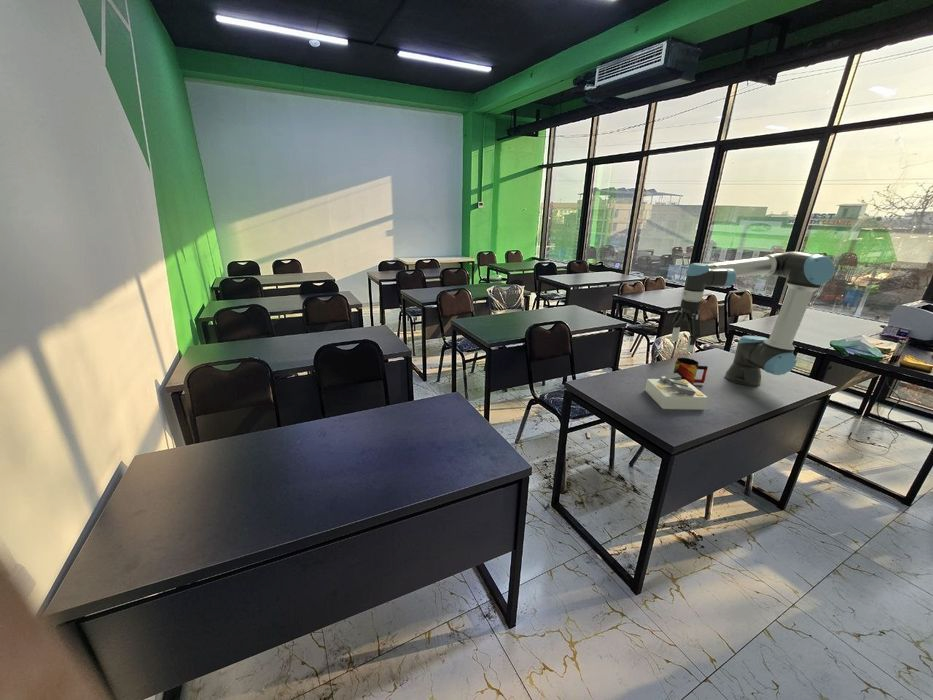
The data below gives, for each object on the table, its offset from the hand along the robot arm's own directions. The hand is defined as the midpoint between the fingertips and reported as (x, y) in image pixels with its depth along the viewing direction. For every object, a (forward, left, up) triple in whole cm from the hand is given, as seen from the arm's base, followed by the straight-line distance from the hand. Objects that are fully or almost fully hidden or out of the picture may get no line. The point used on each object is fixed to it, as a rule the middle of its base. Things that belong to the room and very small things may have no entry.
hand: (681, 346), depth 178 cm
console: (+3, +7, -23) cm, 24 cm away
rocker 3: (+3, +13, -15) cm, 20 cm away
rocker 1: (+3, +1, -15) cm, 16 cm away
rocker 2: (+3, +7, -15) cm, 17 cm away
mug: (-13, -11, -24) cm, 29 cm away
